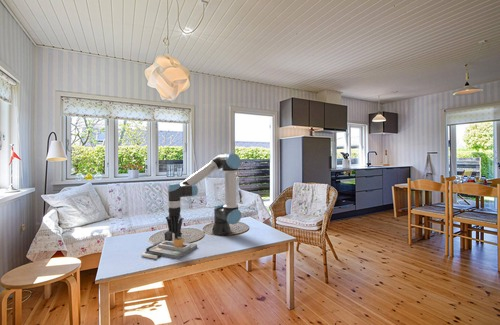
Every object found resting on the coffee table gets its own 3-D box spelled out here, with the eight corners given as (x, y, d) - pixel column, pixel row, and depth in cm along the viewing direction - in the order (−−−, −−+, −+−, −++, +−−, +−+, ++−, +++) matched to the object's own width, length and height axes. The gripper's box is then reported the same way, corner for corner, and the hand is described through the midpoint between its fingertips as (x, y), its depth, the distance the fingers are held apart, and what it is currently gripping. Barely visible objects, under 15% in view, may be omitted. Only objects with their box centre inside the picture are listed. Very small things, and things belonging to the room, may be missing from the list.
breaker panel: (171, 243, 171) (171, 237, 171) (197, 247, 163) (197, 241, 163) (150, 253, 153) (150, 247, 153) (178, 259, 145) (178, 252, 145)
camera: (175, 243, 171) (175, 229, 170) (162, 242, 173) (162, 228, 173) (184, 237, 184) (184, 224, 183) (173, 236, 186) (173, 223, 186)
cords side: (160, 243, 170) (160, 241, 170) (165, 244, 168) (165, 242, 168) (145, 251, 157) (145, 248, 157) (150, 252, 155) (150, 249, 155)
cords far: (140, 256, 148) (140, 253, 148) (146, 253, 152) (146, 250, 152) (155, 259, 144) (155, 256, 144) (161, 256, 148) (161, 253, 148)
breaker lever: (178, 246, 160) (178, 236, 159) (183, 246, 158) (183, 237, 158) (173, 248, 155) (173, 238, 155) (179, 249, 154) (179, 239, 154)
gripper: (162, 207, 156) (162, 243, 157) (178, 208, 151) (179, 245, 152) (170, 205, 163) (170, 239, 164) (186, 206, 158) (186, 241, 159)
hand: (174, 242), depth 158 cm, fingers closed
